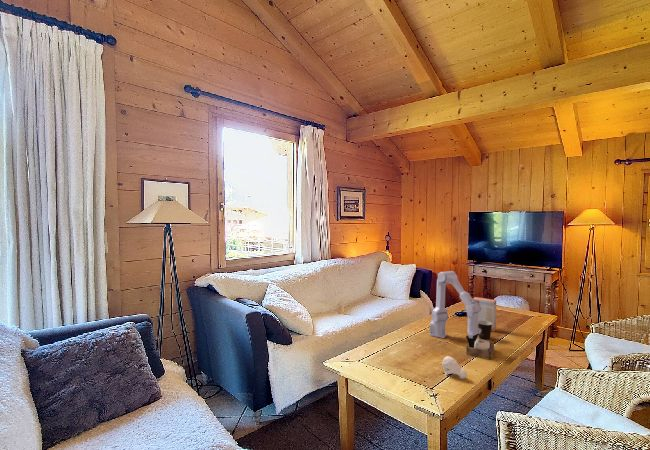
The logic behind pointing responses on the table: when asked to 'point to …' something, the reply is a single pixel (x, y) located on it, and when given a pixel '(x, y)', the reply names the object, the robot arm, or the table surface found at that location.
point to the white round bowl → (482, 344)
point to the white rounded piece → (453, 367)
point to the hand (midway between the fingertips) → (472, 346)
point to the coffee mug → (484, 329)
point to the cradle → (481, 351)
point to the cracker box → (487, 311)
